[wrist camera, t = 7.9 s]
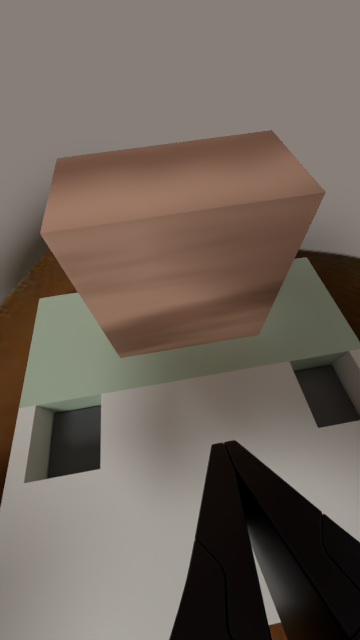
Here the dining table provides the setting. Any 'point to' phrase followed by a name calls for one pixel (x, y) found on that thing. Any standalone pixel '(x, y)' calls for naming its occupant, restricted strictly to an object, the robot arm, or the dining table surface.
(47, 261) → the dining table surface
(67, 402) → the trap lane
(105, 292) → the terracotta block
